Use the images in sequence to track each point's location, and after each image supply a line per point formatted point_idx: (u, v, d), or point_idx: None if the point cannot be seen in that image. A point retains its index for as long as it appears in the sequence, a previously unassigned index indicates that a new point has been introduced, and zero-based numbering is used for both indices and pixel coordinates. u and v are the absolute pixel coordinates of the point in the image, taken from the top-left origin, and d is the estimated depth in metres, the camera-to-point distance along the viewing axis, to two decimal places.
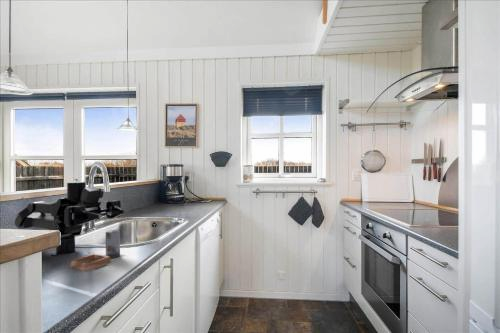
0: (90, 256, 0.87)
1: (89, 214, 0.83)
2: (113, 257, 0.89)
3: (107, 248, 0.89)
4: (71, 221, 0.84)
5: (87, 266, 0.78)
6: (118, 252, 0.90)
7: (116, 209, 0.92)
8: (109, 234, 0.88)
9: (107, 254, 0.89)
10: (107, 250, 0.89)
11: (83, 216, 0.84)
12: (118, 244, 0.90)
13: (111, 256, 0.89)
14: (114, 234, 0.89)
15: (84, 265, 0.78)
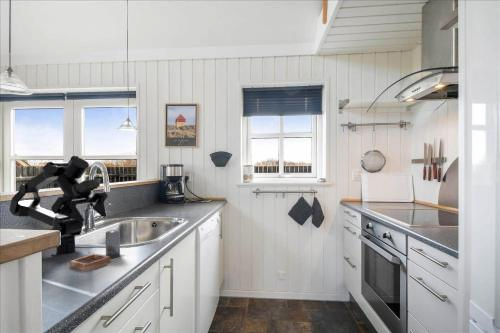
0: (90, 256, 0.87)
1: (76, 214, 0.88)
2: (113, 257, 0.89)
3: (107, 248, 0.89)
4: None
5: (87, 266, 0.78)
6: (118, 252, 0.90)
7: (101, 208, 0.98)
8: (109, 234, 0.88)
9: (107, 254, 0.89)
10: (107, 250, 0.89)
11: (70, 210, 0.89)
12: (118, 244, 0.90)
13: (111, 256, 0.89)
14: (114, 234, 0.89)
15: (84, 265, 0.78)
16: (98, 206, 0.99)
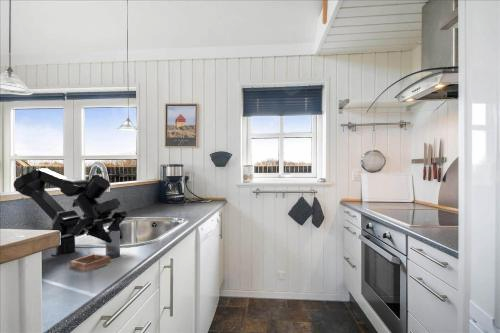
0: (90, 256, 0.87)
1: (104, 235, 0.87)
2: (113, 257, 0.89)
3: (107, 248, 0.89)
4: None
5: (87, 266, 0.78)
6: (118, 252, 0.90)
7: (116, 229, 0.93)
8: (109, 234, 0.88)
9: (107, 254, 0.89)
10: (107, 250, 0.89)
11: (98, 231, 0.88)
12: (118, 244, 0.90)
13: (111, 256, 0.89)
14: (114, 234, 0.89)
15: (84, 265, 0.78)
16: (113, 227, 0.94)
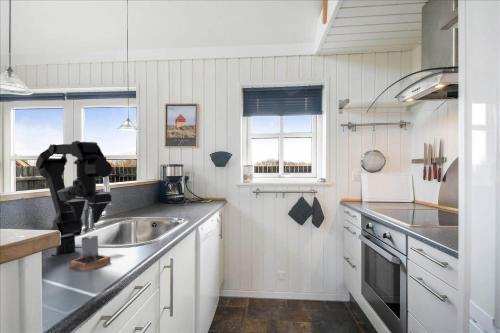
0: None
1: None
2: None
3: (82, 255, 0.82)
4: None
5: (87, 266, 0.78)
6: (94, 260, 0.82)
7: None
8: (83, 240, 0.81)
9: (82, 262, 0.82)
10: (82, 257, 0.82)
11: None
12: (94, 252, 0.82)
13: None
14: (88, 241, 0.81)
15: (84, 265, 0.78)
16: None
